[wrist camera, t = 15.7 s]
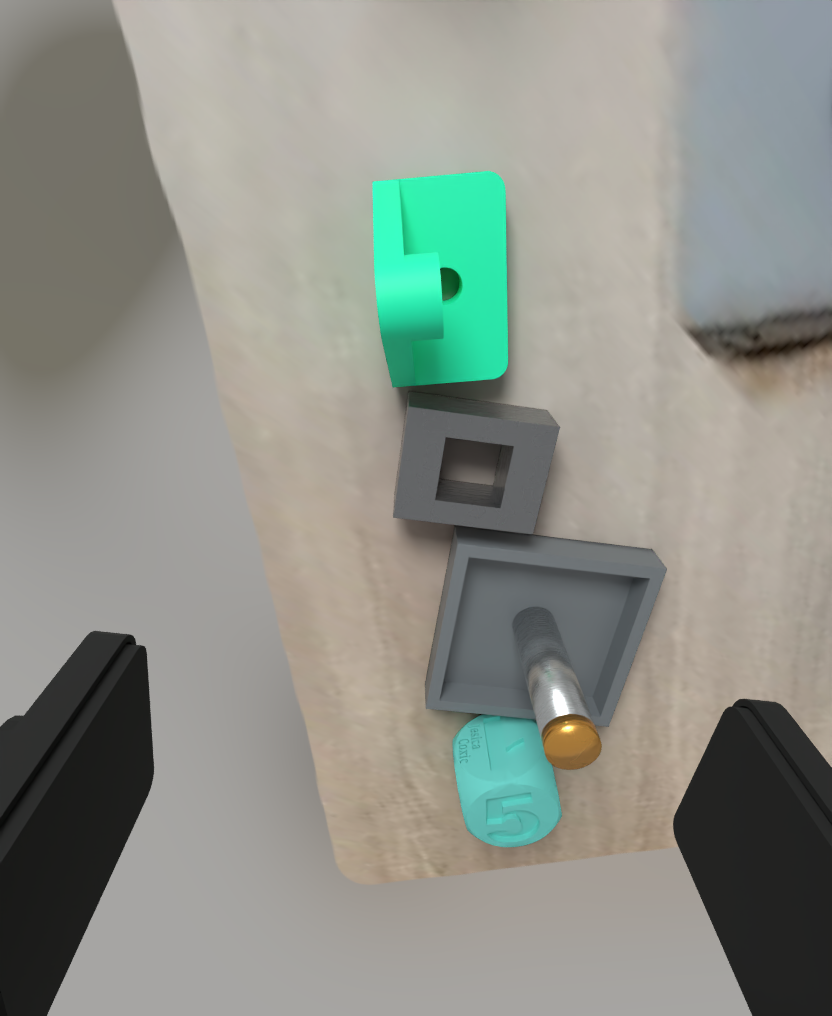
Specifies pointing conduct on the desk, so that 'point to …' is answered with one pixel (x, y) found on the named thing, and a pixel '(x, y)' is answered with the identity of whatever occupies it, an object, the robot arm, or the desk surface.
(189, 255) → the desk surface
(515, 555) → the tray
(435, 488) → the block
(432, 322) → the green mounting bracket
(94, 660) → the robot arm
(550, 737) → the pin
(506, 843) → the decorative dice
